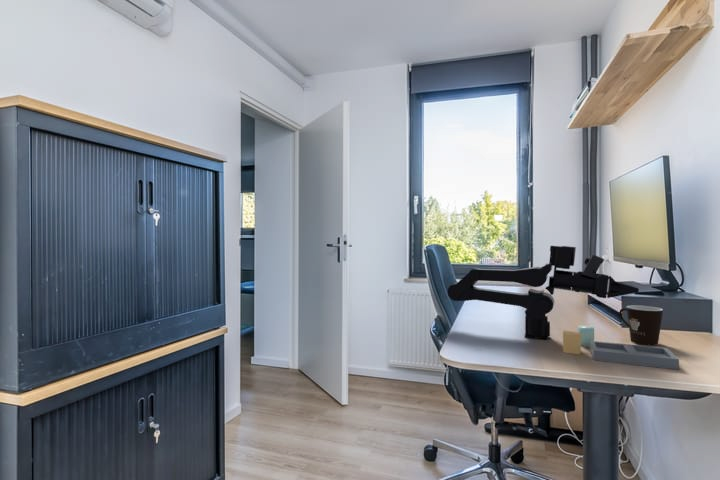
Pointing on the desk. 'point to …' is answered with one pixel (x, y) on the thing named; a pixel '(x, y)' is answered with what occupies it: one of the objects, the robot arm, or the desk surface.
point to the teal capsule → (586, 335)
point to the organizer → (634, 354)
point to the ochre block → (571, 342)
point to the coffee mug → (643, 324)
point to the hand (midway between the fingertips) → (636, 289)
